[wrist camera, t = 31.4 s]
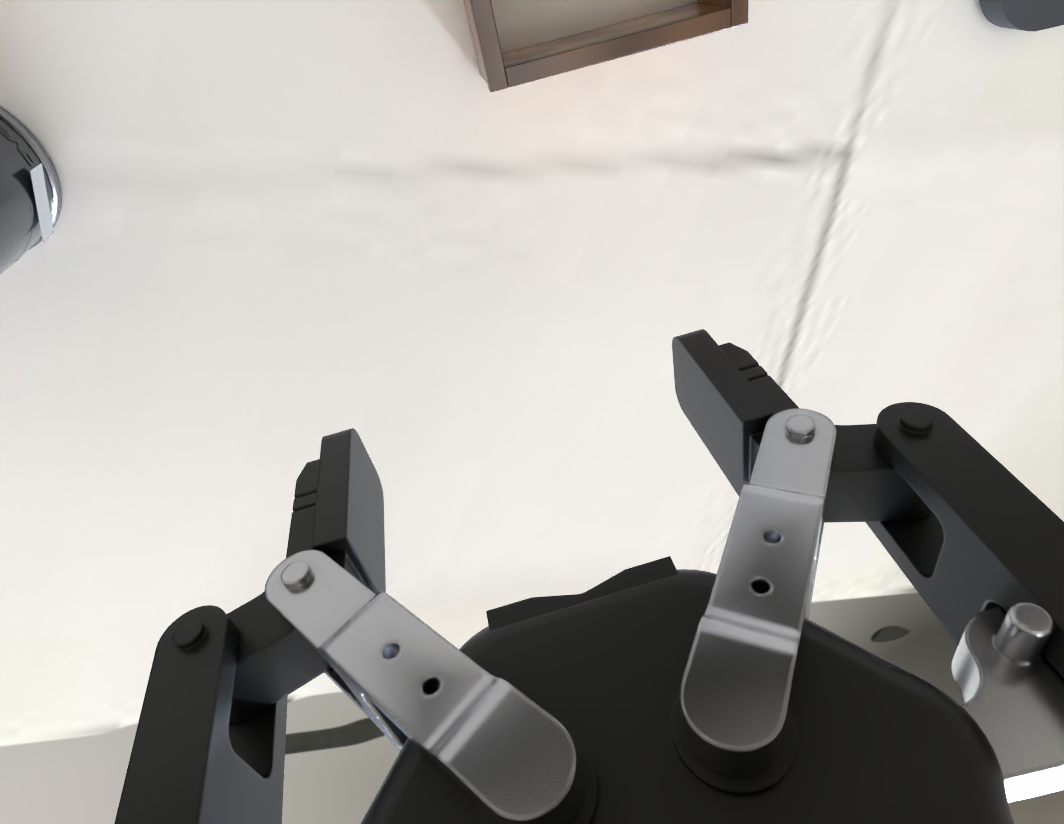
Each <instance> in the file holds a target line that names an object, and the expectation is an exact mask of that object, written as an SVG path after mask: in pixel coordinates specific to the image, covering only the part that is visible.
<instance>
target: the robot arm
mask: <svg viewBox="0 0 1064 824" xmlns="http://www.w3.org/2000/svg"><path fill="white" fill-rule="evenodd" d="M60 209H61V189H60V184H59V180H58V177H57V174H56V171H55V169H54V167H53V165H52V163H51V161H50V159H49V157H48V155H47V154H46V152H45V151H44V149H43V148H42V146H41V145H40V144H39V142H38V141H37V140H36V139H35V138H34V136H33V135H32V134H31V133H30V132H29V131H28V130H27V129H26V128H25V127H24V126H23V125H22V124H21V123H20V122H19V121H17V120H16V119H15V118H14V117H13V116H11V115H10V114H9V113H7V112H6V111H5V110H3V109H2V108H0V275H1V274H2V273H3V272H4V271H5V270H6V269H8V268H9V267H10V266H11V265H12V264H13V263H14V262H16V261H17V260H18V259H19V258H20V257H21V256H22V255H23V254H24V253H25V252H26V251H27V250H29V249H31V248H32V247H34V246H36V245H37V244H38V243H39V242H41V241H42V240H43V242H44V241H45V240H46V239H47V238H48V237H49V236H50V235H51V234H52V233H54V232H53V227H54V226H55V224H56V222H57V220H58V217H59V214H60ZM672 350H673V364H674V378H675V389H676V394H677V398H678V401H679V404H680V406H681V408H682V410H683V412H684V414H685V415H686V417H687V418H688V420H689V421H690V423H691V424H692V426H693V427H694V429H695V430H696V432H697V433H698V435H699V436H700V438H701V439H702V441H703V442H704V444H705V445H706V447H707V448H708V450H709V451H710V453H711V455H712V456H713V458H714V459H715V461H716V462H717V464H718V465H719V467H720V468H721V470H722V471H723V473H724V474H725V476H726V477H727V479H728V480H729V482H730V483H731V485H732V486H733V488H734V489H735V491H736V492H737V494H738V495H739V501H738V504H737V508H736V511H735V514H734V518H733V521H732V525H731V528H730V531H729V535H728V538H727V542H726V545H725V548H724V552H723V555H722V559H721V562H720V566H719V569H718V572H717V574H714V573H710V572H706V571H699V570H686V569H682V570H676V568H675V566H674V564H673V562H672V560H671V557H670V556H669V557H666V558H662V559H659V560H656V561H652V562H649V563H646V564H642V565H639V566H636V567H632V568H629V569H626V570H624V571H622V572H620V573H618V574H617V575H615V576H613V577H611V578H610V579H608V580H606V581H604V582H603V583H601V584H599V585H597V586H596V587H594V588H592V589H590V590H589V591H587V592H585V593H582V594H577V595H563V596H548V597H533V598H529V599H525V600H522V601H519V602H515V603H512V604H509V605H505V606H502V607H499V608H495V609H492V610H489V611H486V612H487V618H488V624H489V626H488V627H486V628H484V629H483V630H481V631H480V632H478V633H477V634H476V635H474V636H473V637H472V638H471V639H469V640H468V641H467V642H466V643H465V644H464V645H463V646H462V647H461V648H460V649H457V648H456V647H455V646H453V645H452V644H451V643H450V642H448V641H447V640H446V639H445V638H443V637H442V636H441V635H439V634H438V633H437V632H436V631H434V630H433V629H432V628H430V627H429V626H428V625H427V624H425V623H424V622H423V621H422V620H420V619H419V618H418V617H416V616H415V615H414V614H413V613H411V612H410V611H409V610H407V609H406V608H405V607H404V606H402V605H401V604H400V603H398V602H397V601H396V600H395V599H393V598H392V597H391V596H389V595H388V594H387V593H386V588H385V545H384V501H383V490H382V486H381V482H380V479H379V476H378V474H377V471H376V469H375V467H374V465H373V463H372V461H371V459H370V457H369V455H368V453H367V451H366V449H365V447H364V445H363V443H362V441H361V439H360V437H359V435H358V433H357V432H356V430H355V429H353V428H352V429H349V430H345V431H342V432H338V433H335V434H331V435H328V436H324V437H323V438H322V443H321V453H320V459H319V460H315V461H312V462H308V463H307V464H306V466H305V467H304V469H303V470H302V472H301V474H300V475H299V477H298V479H297V481H296V489H295V499H294V503H293V513H292V518H291V526H290V533H289V540H288V548H287V555H286V559H285V560H283V561H282V562H281V563H280V564H279V565H278V566H276V568H275V569H274V570H273V571H272V572H271V574H270V575H269V577H268V579H267V582H266V585H265V592H263V593H262V594H261V595H259V596H258V597H256V598H254V599H253V600H251V601H249V602H247V603H246V604H244V605H242V606H240V607H239V608H237V609H235V610H233V611H232V612H230V613H228V614H226V613H225V612H224V611H223V610H222V609H221V608H219V607H216V606H209V605H208V606H202V607H198V608H195V609H193V610H190V611H189V612H187V613H185V614H183V615H182V616H180V617H179V618H178V619H177V620H175V621H174V622H173V623H172V624H171V625H170V626H169V627H168V628H167V629H166V631H165V632H164V633H163V635H162V636H161V638H160V640H159V642H158V645H157V648H156V651H155V656H154V660H153V664H152V668H151V672H150V677H149V681H148V685H147V689H146V693H145V698H144V702H143V706H142V710H141V714H140V719H139V723H138V728H137V731H136V736H135V740H134V744H133V748H132V752H131V757H130V761H129V765H128V769H127V774H126V778H125V782H124V786H123V790H122V794H121V799H120V803H119V807H118V811H117V815H116V820H115V824H282V822H281V821H282V801H283V780H284V760H285V738H286V717H287V695H288V694H290V693H292V692H293V691H295V690H296V689H298V688H300V687H301V686H303V685H304V684H306V683H308V682H309V681H311V680H312V679H314V678H316V677H317V676H319V675H320V674H322V673H325V674H326V675H327V676H328V677H329V678H330V679H331V680H332V681H333V682H334V683H335V684H336V685H337V686H338V687H339V688H340V689H341V690H342V691H343V692H344V693H345V694H346V695H347V696H348V697H349V698H350V699H351V700H352V701H354V703H355V704H356V705H357V706H358V707H359V708H360V709H361V710H362V711H363V712H364V713H365V714H366V715H367V716H368V717H369V718H370V719H371V720H372V721H373V722H374V723H375V724H376V725H377V726H378V727H379V729H380V730H381V731H382V732H383V733H384V734H385V736H386V737H387V738H388V739H389V740H390V741H391V742H392V743H393V745H394V746H395V747H396V748H397V749H398V750H399V751H400V753H399V755H398V757H397V759H396V760H395V762H394V764H393V766H392V768H391V769H390V771H389V773H388V775H387V777H386V779H385V780H384V782H383V784H382V786H381V788H380V790H379V791H378V793H377V795H376V797H375V799H374V801H373V802H372V804H371V806H370V808H369V810H368V812H367V814H366V815H365V817H364V819H363V821H362V823H361V824H1014V822H1013V818H1012V814H1011V811H1010V808H1009V804H1008V803H1009V802H1013V801H1017V800H1021V799H1025V798H1030V797H1034V796H1038V795H1042V794H1047V793H1051V792H1055V791H1059V790H1063V789H1064V522H1063V521H1062V520H1061V519H1060V518H1059V517H1058V516H1057V515H1056V514H1055V513H1053V512H1052V511H1051V510H1050V509H1049V508H1048V507H1047V506H1046V505H1045V504H1044V503H1043V502H1042V501H1041V500H1039V499H1038V498H1037V497H1036V496H1035V495H1034V494H1033V493H1032V492H1031V491H1030V490H1029V489H1028V488H1026V487H1025V486H1024V485H1023V484H1022V483H1021V482H1020V481H1019V480H1018V479H1017V478H1016V477H1015V476H1013V475H1012V474H1011V473H1010V472H1009V471H1008V470H1007V469H1006V468H1005V467H1004V466H1003V465H1002V464H1001V463H999V462H998V461H997V460H996V459H995V458H994V457H993V456H992V455H991V454H990V453H989V452H988V451H986V450H985V449H984V448H983V447H982V446H981V445H980V444H979V443H978V442H977V441H976V440H975V439H974V438H972V437H971V436H970V435H969V434H968V433H967V432H966V431H965V430H964V429H963V428H962V427H961V426H959V425H958V424H957V423H956V422H955V421H954V420H953V419H952V418H951V417H950V416H949V415H947V414H946V413H945V412H943V411H942V410H940V409H938V408H935V407H933V406H930V405H927V404H922V403H915V402H904V403H897V404H893V405H890V406H888V407H886V408H885V409H883V410H882V411H881V412H880V413H879V415H878V418H877V424H867V425H834V424H833V422H832V421H831V420H830V419H829V418H827V417H826V416H824V415H823V414H821V413H818V412H816V411H812V410H808V409H799V408H798V406H797V405H796V404H795V403H794V402H793V401H792V400H791V399H790V398H789V397H788V395H787V394H786V393H785V392H784V391H783V390H782V389H781V388H780V387H779V386H778V384H777V383H776V382H775V381H774V380H773V379H772V378H771V377H770V376H768V375H767V372H766V371H765V370H764V369H763V368H762V367H761V366H759V365H758V362H757V361H756V360H755V359H754V358H753V357H752V356H751V355H750V354H749V353H748V351H746V350H744V349H742V348H740V347H737V346H735V345H733V344H731V343H726V344H723V345H719V346H718V345H717V343H716V342H715V341H714V340H713V339H712V337H711V336H710V335H709V334H708V333H707V332H706V331H705V330H704V329H702V330H698V331H695V332H691V333H688V334H684V335H681V336H677V337H674V338H673V341H672ZM824 522H866V523H867V524H868V526H869V527H870V528H871V530H872V531H873V533H874V534H875V535H876V537H877V538H878V539H879V541H880V542H881V543H882V545H883V546H884V547H885V549H886V550H887V551H888V553H889V554H890V555H891V557H892V558H893V559H894V561H895V562H896V563H897V565H898V566H899V567H900V569H901V570H902V571H903V573H904V574H905V575H906V577H907V578H908V579H909V581H910V582H911V583H912V585H913V586H914V587H915V589H916V590H917V591H918V593H919V594H920V595H921V597H922V598H923V599H924V601H925V602H926V603H927V605H928V606H929V607H930V609H931V610H932V611H933V613H934V614H935V615H936V616H937V618H938V619H939V621H940V622H941V623H942V624H943V626H944V627H945V628H946V630H947V631H948V632H949V634H950V635H951V637H952V638H953V639H954V641H955V642H956V643H957V645H958V648H957V650H956V652H955V655H954V657H953V660H952V667H951V668H952V674H953V677H954V680H955V682H956V684H957V686H958V688H959V689H960V692H961V694H962V696H963V699H964V704H962V705H960V704H959V703H957V702H956V701H955V700H954V699H953V698H952V697H951V696H949V695H948V694H947V693H945V692H944V691H942V690H941V689H940V688H938V687H937V686H935V685H933V684H932V683H930V682H928V681H926V680H925V679H923V678H921V677H919V676H917V675H915V674H913V673H911V672H909V671H907V670H905V669H903V668H901V667H900V666H898V665H896V664H893V663H892V662H890V661H888V660H886V659H884V658H882V657H880V656H878V655H876V654H874V653H872V652H870V651H868V650H866V649H864V648H863V647H861V646H859V645H857V644H855V643H853V642H851V641H849V640H847V639H845V638H843V637H841V636H839V635H837V634H836V633H833V632H831V631H830V630H828V629H826V628H824V627H822V626H820V625H818V624H816V623H814V622H812V621H810V620H809V613H810V607H811V600H812V593H813V587H814V581H815V575H816V569H817V563H818V557H819V551H820V545H821V539H822V533H823V527H824Z"/></svg>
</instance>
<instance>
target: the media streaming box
mask: <svg viewBox="0 0 1064 824" xmlns="http://www.w3.org/2000/svg"><path fill="white" fill-rule="evenodd" d="M979 2H980V6H981V9H982V11H983V13H984V15H985V17H986V18H987V19H988V20H989V21H990V22H991V23H993V24H994V25H997V26H999V27H1004V28H1011V29H1018V30H1025V31H1038V30H1042V29H1047V28H1051V27H1056V26H1060V25H1064V0H979Z"/></svg>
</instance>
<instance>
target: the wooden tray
mask: <svg viewBox="0 0 1064 824" xmlns="http://www.w3.org/2000/svg"><path fill="white" fill-rule="evenodd" d="M464 4H465V9H466V13H467V18H468V22H469V27H470V31H471V35H472V40H473V44H474V49H475V53H476V58H477V62H478V66H479V71H480V74H481V76H482V77H483V78H484V80H485V81H486V82H487V84H488V88H489V90H490V92H494V91H498V90H501V89H505V88H508V87H512V86H516V85H520V84H524V83H527V82H531V81H535V80H538V79H542V78H546V77H550V76H553V75H557V74H561V73H565V72H568V71H572V70H576V69H580V68H583V67H587V66H591V65H594V64H598V63H602V62H606V61H609V60H613V59H617V58H621V57H624V56H628V55H632V54H636V53H639V52H643V51H647V50H650V49H654V48H658V47H662V46H665V45H669V44H673V43H677V42H680V41H684V40H688V39H692V38H695V37H699V36H703V35H706V34H710V33H714V32H718V31H721V30H725V29H729V28H731V27H736V26H740V25H744V24H747V23H748V0H699V3H698V2H697V3H693V4H690V5H686V6H682V7H678V8H674V9H671V10H667V11H663V12H659V13H656V14H652V15H648V16H644V17H641V18H637V19H633V20H629V21H626V22H622V23H618V24H614V25H611V26H607V27H603V28H599V29H595V30H592V31H588V32H584V33H580V34H577V35H573V36H569V37H565V38H562V39H558V40H554V41H550V42H547V43H543V44H539V45H535V46H531V47H528V48H524V49H520V50H516V51H513V52H509V53H505V54H501V49H500V44H499V40H498V35H497V30H496V25H495V20H494V15H493V10H492V5H491V0H464Z"/></svg>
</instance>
